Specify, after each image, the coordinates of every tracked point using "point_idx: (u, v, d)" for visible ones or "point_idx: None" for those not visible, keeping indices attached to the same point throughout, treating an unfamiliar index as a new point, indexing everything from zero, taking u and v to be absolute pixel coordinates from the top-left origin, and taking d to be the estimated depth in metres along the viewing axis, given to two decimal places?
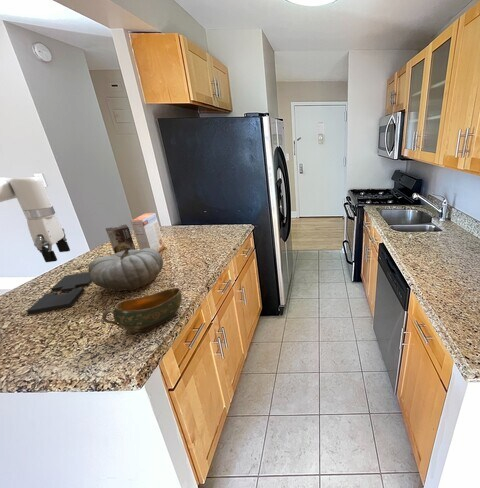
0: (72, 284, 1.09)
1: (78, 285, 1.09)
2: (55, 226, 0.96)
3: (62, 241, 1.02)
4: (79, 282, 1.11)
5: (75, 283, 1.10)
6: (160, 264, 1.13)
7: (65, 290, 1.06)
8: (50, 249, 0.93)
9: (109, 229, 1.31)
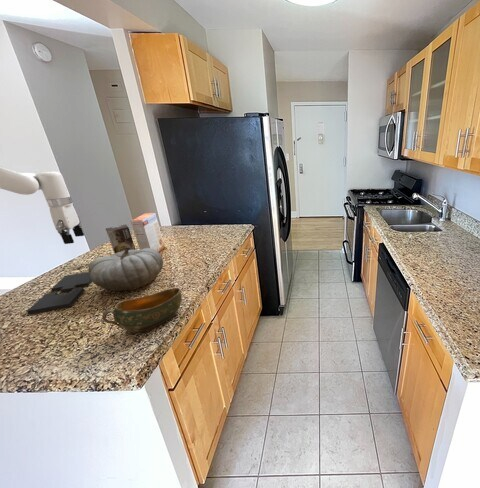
0: (72, 284, 1.09)
1: (78, 285, 1.09)
2: (72, 213, 1.13)
3: (78, 227, 1.19)
4: (79, 282, 1.11)
5: (75, 283, 1.10)
6: (160, 264, 1.13)
7: (65, 290, 1.06)
8: (68, 233, 1.10)
9: (109, 229, 1.31)
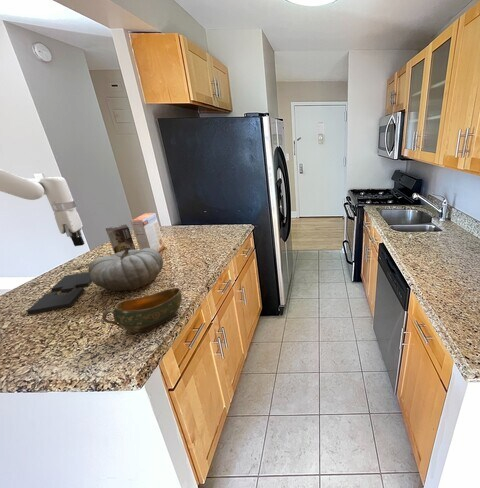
0: (72, 284, 1.09)
1: (78, 285, 1.09)
2: (76, 217, 1.16)
3: None
4: (79, 282, 1.11)
5: (75, 283, 1.10)
6: (160, 264, 1.13)
7: (65, 290, 1.06)
8: (78, 235, 1.17)
9: (109, 229, 1.31)
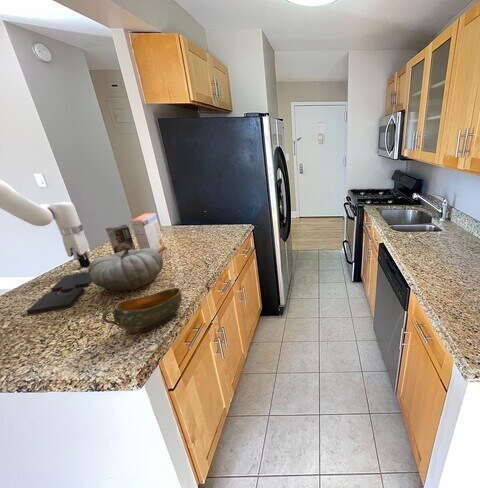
0: (72, 284, 1.09)
1: (78, 285, 1.09)
2: (83, 240, 1.19)
3: None
4: (79, 282, 1.11)
5: (75, 283, 1.10)
6: (160, 264, 1.13)
7: (65, 290, 1.06)
8: (85, 257, 1.20)
9: (109, 229, 1.31)
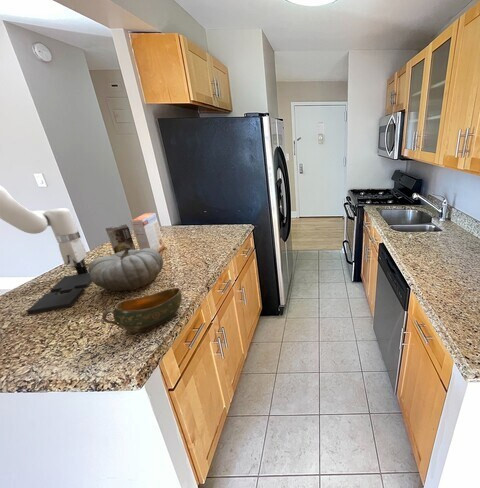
0: (71, 285, 1.08)
1: (77, 286, 1.08)
2: (80, 247, 1.16)
3: None
4: (79, 283, 1.10)
5: (74, 284, 1.09)
6: (160, 264, 1.13)
7: (64, 291, 1.05)
8: (82, 265, 1.17)
9: (109, 229, 1.31)
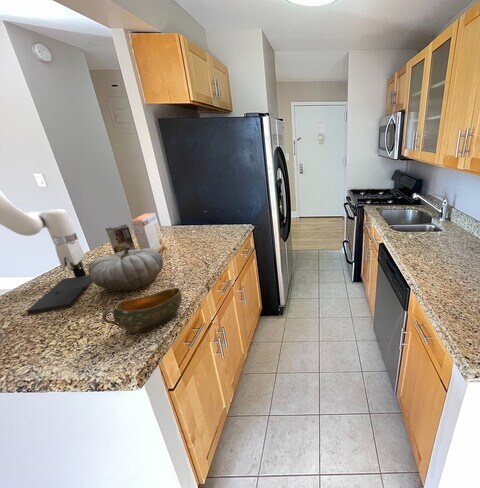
0: (68, 289, 1.06)
1: None
2: (77, 249, 1.13)
3: None
4: (76, 286, 1.08)
5: (72, 287, 1.07)
6: (160, 264, 1.13)
7: None
8: (79, 267, 1.14)
9: (109, 229, 1.31)
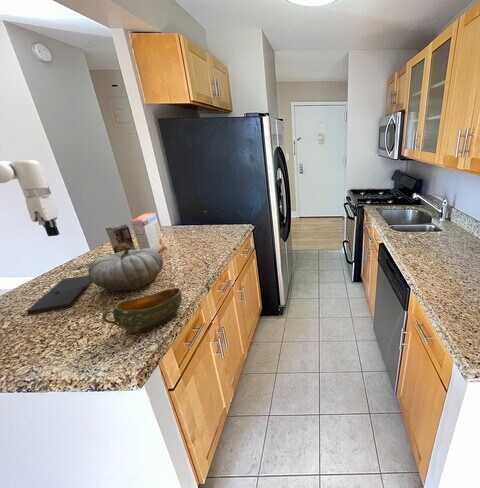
0: (68, 289, 1.06)
1: None
2: (50, 205, 1.08)
3: None
4: (76, 286, 1.08)
5: (72, 287, 1.07)
6: (160, 264, 1.13)
7: None
8: (52, 225, 1.09)
9: (109, 229, 1.31)
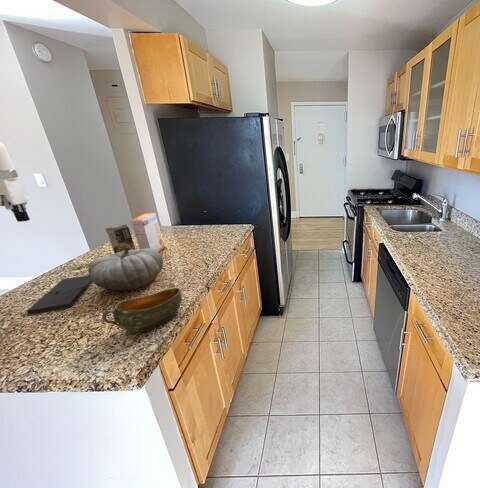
0: (68, 289, 1.06)
1: None
2: (18, 189, 1.03)
3: None
4: (76, 286, 1.08)
5: (72, 287, 1.07)
6: (160, 264, 1.13)
7: None
8: (21, 209, 1.05)
9: (109, 229, 1.31)
